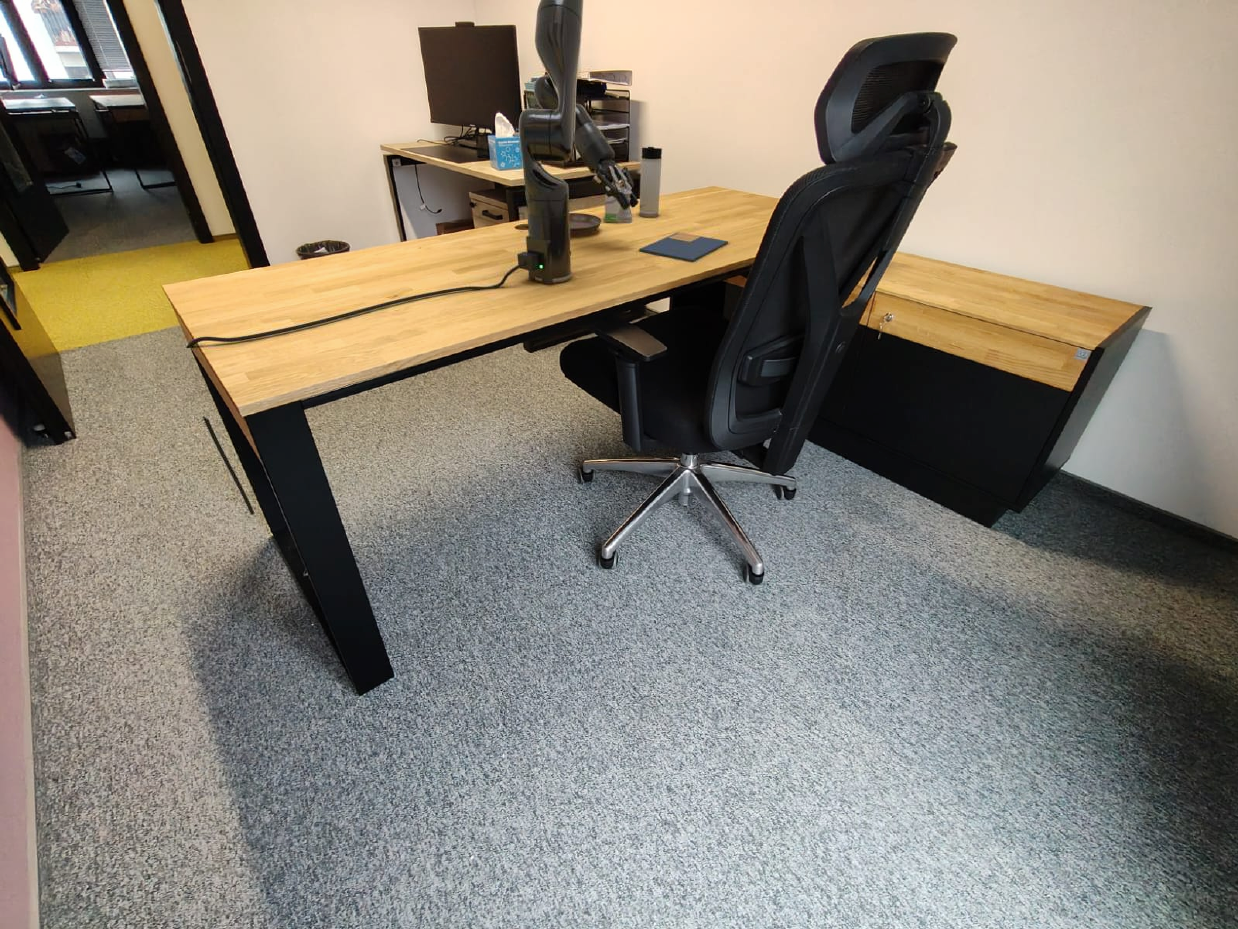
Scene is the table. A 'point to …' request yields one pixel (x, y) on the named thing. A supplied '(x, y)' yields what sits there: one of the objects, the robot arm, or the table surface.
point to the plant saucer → (583, 224)
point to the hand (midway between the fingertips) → (631, 206)
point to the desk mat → (684, 246)
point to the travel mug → (650, 181)
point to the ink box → (611, 208)
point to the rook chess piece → (625, 215)
